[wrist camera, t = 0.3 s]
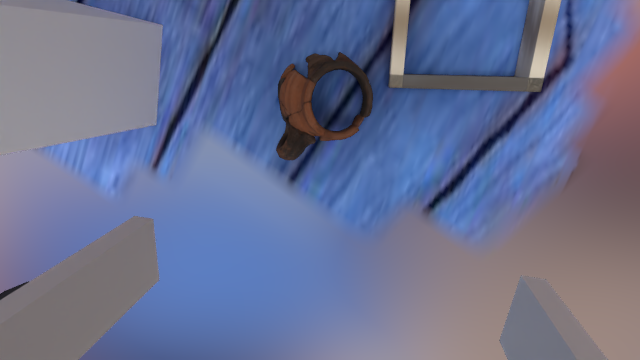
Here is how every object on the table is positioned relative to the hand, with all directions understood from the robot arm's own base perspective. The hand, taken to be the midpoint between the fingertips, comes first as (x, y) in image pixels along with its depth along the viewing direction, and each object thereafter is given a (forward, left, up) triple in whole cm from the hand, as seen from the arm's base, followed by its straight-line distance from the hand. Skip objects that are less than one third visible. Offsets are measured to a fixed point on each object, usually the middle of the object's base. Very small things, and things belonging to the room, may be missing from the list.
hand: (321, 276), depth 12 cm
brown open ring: (-3, -5, -28) cm, 28 cm away
